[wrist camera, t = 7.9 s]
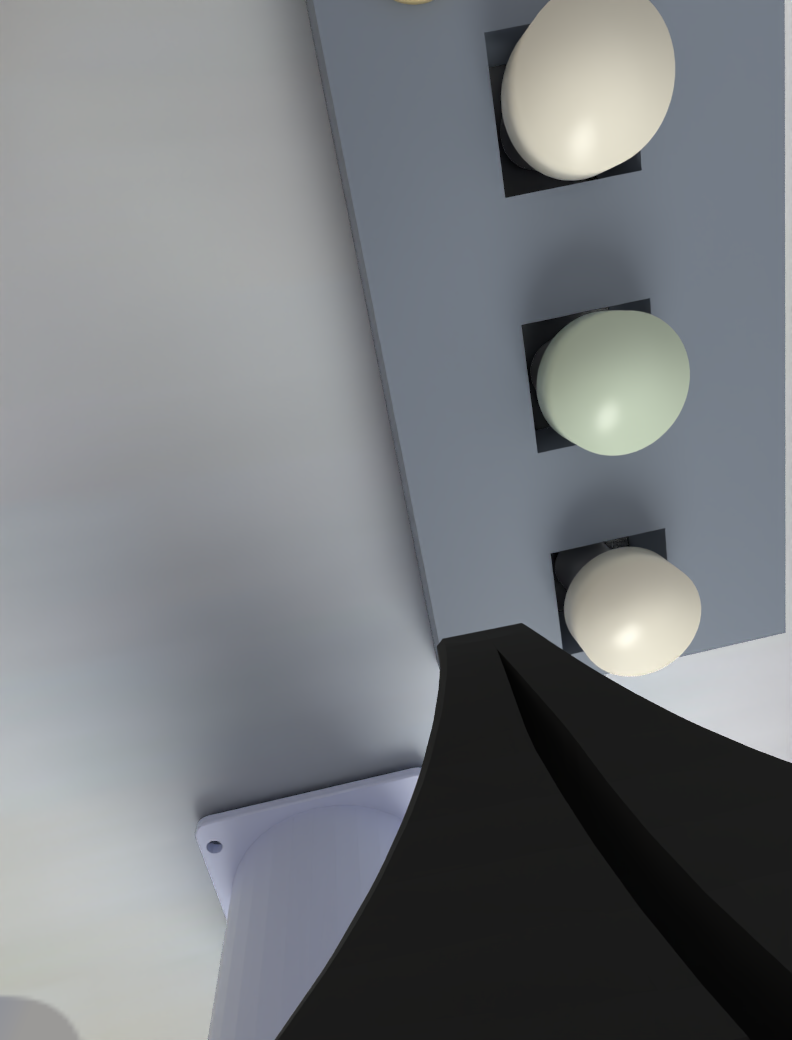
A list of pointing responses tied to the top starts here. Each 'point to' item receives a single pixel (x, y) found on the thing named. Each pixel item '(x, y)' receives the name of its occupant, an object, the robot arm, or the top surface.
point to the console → (569, 308)
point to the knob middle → (612, 380)
